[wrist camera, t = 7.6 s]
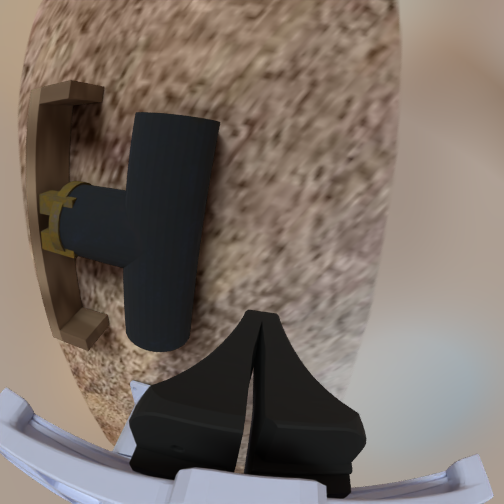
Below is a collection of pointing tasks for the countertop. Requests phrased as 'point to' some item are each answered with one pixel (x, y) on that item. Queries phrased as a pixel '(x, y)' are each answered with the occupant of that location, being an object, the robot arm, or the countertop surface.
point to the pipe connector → (145, 224)
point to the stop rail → (37, 182)
